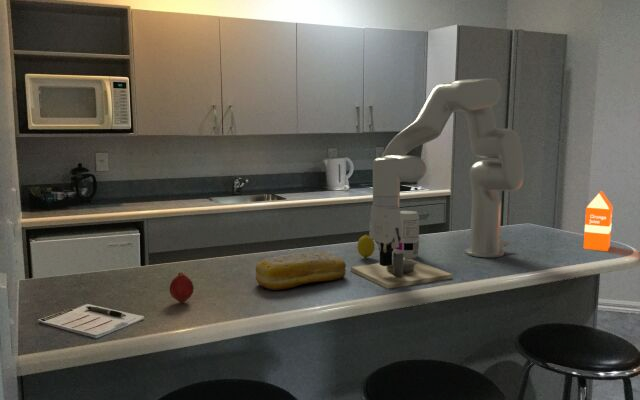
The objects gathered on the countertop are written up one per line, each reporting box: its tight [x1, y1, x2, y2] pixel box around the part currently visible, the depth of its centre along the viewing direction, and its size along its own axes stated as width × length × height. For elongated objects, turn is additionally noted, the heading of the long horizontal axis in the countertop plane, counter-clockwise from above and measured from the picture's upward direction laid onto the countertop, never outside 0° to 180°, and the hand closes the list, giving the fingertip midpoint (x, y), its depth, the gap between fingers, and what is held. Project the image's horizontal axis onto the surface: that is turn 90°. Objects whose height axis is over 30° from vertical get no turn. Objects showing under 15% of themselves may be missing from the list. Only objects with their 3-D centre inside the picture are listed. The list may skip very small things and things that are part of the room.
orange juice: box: [583, 190, 614, 252], centre depth 196 cm, size 8×9×20 cm
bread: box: [255, 251, 347, 291], centre depth 156 cm, size 13×26×8 cm, turn 125°
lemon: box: [357, 234, 375, 259], centre depth 182 cm, size 6×6×8 cm
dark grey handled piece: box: [387, 252, 414, 277], centre depth 164 cm, size 19×8×6 cm, turn 167°
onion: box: [169, 271, 195, 304], centre depth 138 cm, size 6×6×8 cm
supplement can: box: [392, 210, 420, 260], centre depth 184 cm, size 8×8×15 cm
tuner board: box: [350, 259, 453, 290], centre depth 163 cm, size 22×20×1 cm
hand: (385, 264), depth 158 cm, fingers closed
